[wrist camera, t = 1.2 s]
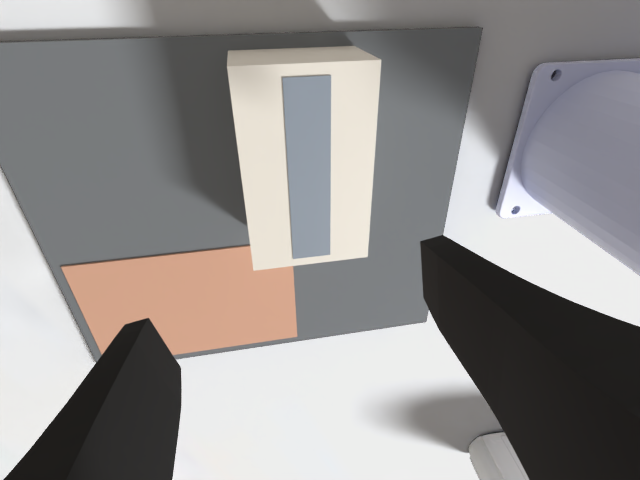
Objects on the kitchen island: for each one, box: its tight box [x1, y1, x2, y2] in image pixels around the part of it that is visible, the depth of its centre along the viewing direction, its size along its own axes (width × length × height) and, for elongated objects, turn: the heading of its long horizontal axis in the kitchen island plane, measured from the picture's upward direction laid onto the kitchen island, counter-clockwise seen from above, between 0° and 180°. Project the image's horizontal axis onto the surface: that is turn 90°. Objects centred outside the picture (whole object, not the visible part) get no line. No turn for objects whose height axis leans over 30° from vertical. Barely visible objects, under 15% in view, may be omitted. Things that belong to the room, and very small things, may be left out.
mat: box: [0, 27, 483, 362], centre depth 20 cm, size 20×17×1 cm
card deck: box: [227, 46, 381, 271], centre depth 16 cm, size 5×8×4 cm, turn 0°
